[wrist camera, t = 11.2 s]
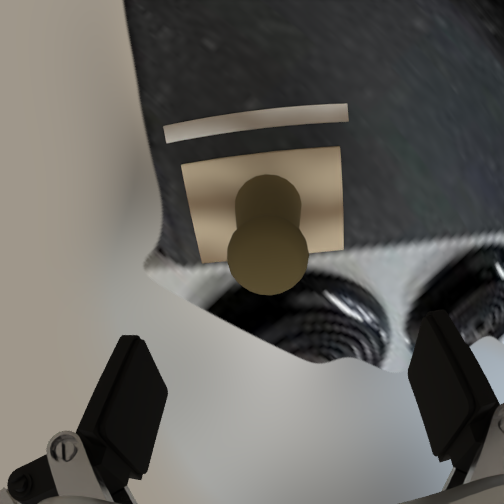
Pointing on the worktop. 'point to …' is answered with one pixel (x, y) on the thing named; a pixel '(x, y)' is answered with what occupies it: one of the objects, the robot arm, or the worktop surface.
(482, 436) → the robot arm
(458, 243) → the worktop surface
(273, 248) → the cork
